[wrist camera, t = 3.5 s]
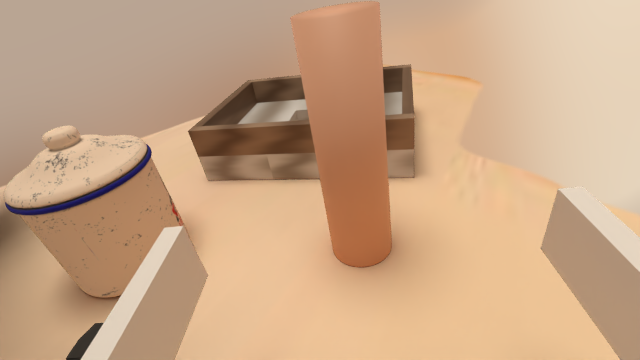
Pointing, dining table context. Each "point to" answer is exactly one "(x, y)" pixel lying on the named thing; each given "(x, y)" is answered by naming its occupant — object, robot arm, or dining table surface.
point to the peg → (348, 124)
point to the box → (291, 130)
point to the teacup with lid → (94, 206)
